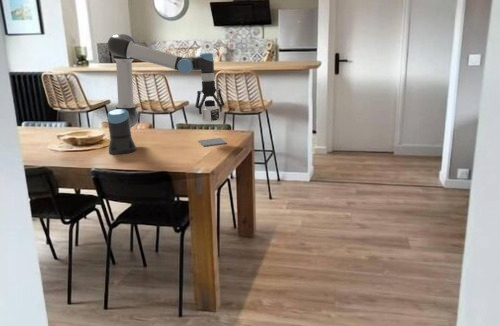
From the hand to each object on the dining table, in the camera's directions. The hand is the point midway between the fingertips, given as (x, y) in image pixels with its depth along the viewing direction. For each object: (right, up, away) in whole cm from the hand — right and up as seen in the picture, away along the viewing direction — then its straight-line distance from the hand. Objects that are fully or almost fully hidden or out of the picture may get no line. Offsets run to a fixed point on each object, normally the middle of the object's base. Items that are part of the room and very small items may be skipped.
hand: (210, 118), depth 267 cm
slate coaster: (+1, -14, +4) cm, 15 cm away
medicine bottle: (0, -1, 0) cm, 1 cm away
